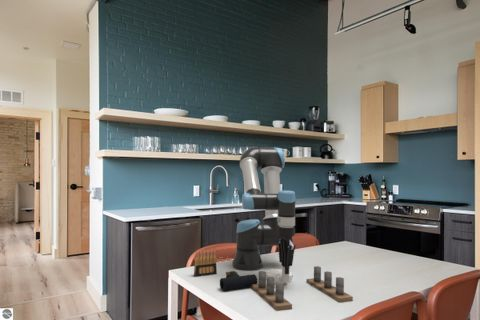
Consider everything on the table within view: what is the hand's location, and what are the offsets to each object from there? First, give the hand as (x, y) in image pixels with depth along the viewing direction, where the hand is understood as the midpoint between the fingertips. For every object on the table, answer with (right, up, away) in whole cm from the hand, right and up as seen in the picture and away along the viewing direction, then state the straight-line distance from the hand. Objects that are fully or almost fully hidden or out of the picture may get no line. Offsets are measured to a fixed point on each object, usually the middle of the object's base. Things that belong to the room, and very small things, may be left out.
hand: (285, 280), depth 150 cm
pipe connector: (-22, -1, -3) cm, 22 cm away
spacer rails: (+4, -1, -12) cm, 13 cm away
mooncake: (-2, -2, +6) cm, 7 cm away
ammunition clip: (-36, -1, +11) cm, 37 cm away
